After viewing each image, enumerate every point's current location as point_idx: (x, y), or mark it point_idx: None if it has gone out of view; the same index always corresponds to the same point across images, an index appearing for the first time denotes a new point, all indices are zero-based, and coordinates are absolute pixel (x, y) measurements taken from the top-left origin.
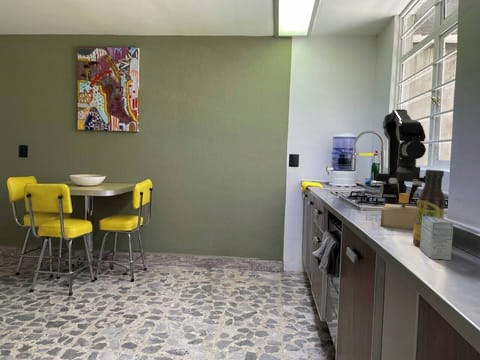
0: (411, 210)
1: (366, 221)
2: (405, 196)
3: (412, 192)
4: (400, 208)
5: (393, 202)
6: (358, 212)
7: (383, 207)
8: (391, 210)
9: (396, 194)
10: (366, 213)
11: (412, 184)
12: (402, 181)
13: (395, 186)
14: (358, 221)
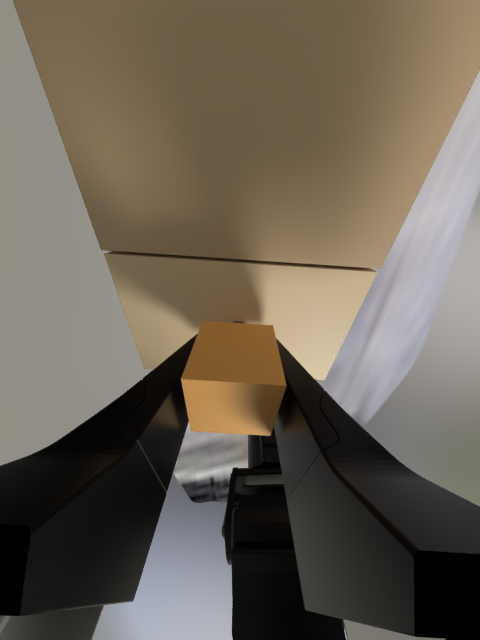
0: (165, 141)
1: (416, 218)
2: (220, 361)
3: (132, 407)
4: (261, 226)
5: (268, 446)
6: (370, 393)
7: (419, 178)
8: None
9: (310, 385)
10: (346, 390)
11: (62, 609)
12: (242, 591)
13: (416, 507)
14: (476, 185)
